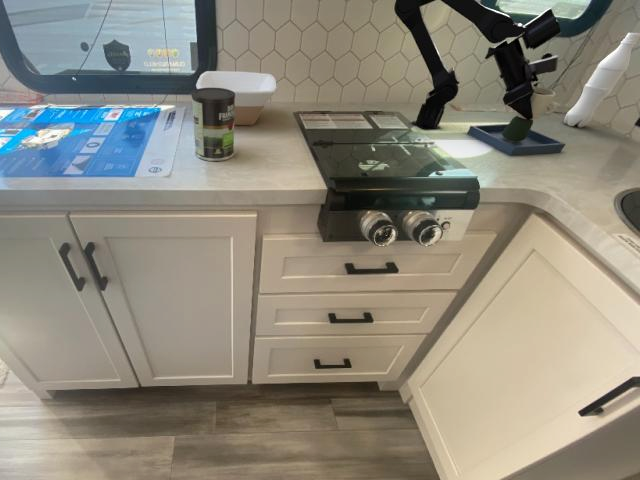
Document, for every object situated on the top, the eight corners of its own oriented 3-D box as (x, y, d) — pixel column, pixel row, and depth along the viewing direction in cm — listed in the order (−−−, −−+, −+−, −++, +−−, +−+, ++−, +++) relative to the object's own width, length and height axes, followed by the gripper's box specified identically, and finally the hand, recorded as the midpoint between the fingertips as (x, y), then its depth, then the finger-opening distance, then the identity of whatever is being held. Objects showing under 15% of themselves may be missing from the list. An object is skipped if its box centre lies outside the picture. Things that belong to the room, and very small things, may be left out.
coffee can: (241, 151, 92) (243, 91, 82) (219, 165, 85) (219, 101, 75) (210, 143, 95) (208, 84, 85) (186, 155, 89) (182, 93, 79)
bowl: (271, 108, 120) (274, 73, 112) (274, 133, 102) (278, 93, 95) (203, 105, 120) (202, 69, 112) (195, 130, 102) (192, 89, 95)
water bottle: (564, 126, 116) (624, 33, 99) (558, 120, 121) (615, 30, 103) (588, 129, 114) (655, 36, 97) (582, 123, 119) (644, 33, 102)
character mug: (534, 140, 103) (566, 92, 93) (528, 148, 99) (561, 99, 89) (496, 129, 107) (522, 82, 98) (489, 137, 104) (515, 89, 94)
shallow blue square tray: (509, 155, 96) (514, 147, 94) (466, 133, 108) (470, 125, 106) (560, 152, 99) (565, 143, 97) (513, 130, 111) (517, 123, 109)
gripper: (547, 44, 82) (568, 105, 86) (552, 37, 93) (571, 91, 97) (493, 76, 91) (514, 130, 95) (503, 66, 102) (522, 115, 105)
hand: (531, 116), depth 98 cm, fingers closed on character mug, 7 cm apart
